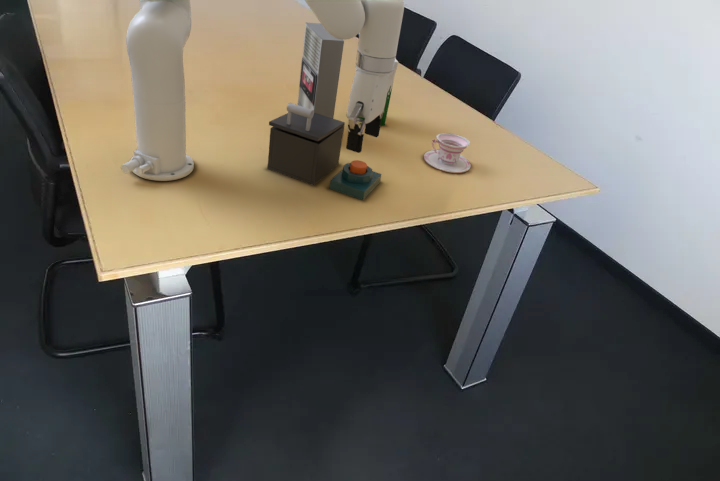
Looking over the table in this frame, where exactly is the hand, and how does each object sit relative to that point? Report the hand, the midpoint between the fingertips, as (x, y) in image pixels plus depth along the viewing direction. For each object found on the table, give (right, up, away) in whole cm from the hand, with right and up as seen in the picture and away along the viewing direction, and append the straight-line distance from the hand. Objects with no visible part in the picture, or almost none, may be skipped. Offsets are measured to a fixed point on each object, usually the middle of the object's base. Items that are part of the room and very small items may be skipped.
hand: (362, 142), depth 119 cm
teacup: (+21, -1, +23) cm, 32 cm away
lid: (-12, +4, +3) cm, 13 cm away
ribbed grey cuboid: (-13, +8, +26) cm, 30 cm away
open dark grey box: (-13, -4, +9) cm, 17 cm away
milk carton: (+2, +13, +39) cm, 41 cm away
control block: (-2, -9, +6) cm, 10 cm away
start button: (-1, -6, +4) cm, 7 cm away
